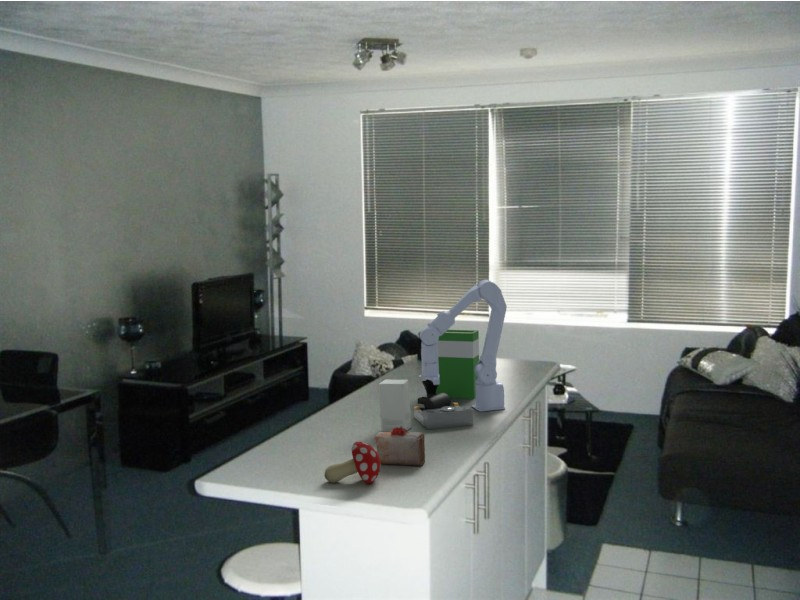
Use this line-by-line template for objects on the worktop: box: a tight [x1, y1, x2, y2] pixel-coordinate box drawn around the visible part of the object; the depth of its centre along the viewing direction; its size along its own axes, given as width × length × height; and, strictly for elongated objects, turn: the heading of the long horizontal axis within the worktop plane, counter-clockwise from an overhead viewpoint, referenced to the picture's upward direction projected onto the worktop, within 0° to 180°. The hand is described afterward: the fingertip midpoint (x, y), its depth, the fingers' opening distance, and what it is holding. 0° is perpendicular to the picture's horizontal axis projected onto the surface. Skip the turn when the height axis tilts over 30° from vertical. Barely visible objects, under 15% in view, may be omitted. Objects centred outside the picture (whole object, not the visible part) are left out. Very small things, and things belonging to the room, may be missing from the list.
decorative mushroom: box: [324, 441, 382, 484], centre depth 204 cm, size 11×11×15 cm
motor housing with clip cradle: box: [413, 402, 474, 430], centre depth 261 cm, size 15×16×6 cm
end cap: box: [417, 393, 452, 412], centre depth 269 cm, size 10×7×7 cm
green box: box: [436, 329, 480, 400], centre depth 296 cm, size 18×7×24 cm, turn 69°
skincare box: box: [378, 378, 412, 432], centre depth 252 cm, size 8×7×16 cm
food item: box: [374, 425, 426, 467], centre depth 219 cm, size 14×8×10 cm, turn 77°
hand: (431, 401), depth 275 cm, fingers closed, pressing on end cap
